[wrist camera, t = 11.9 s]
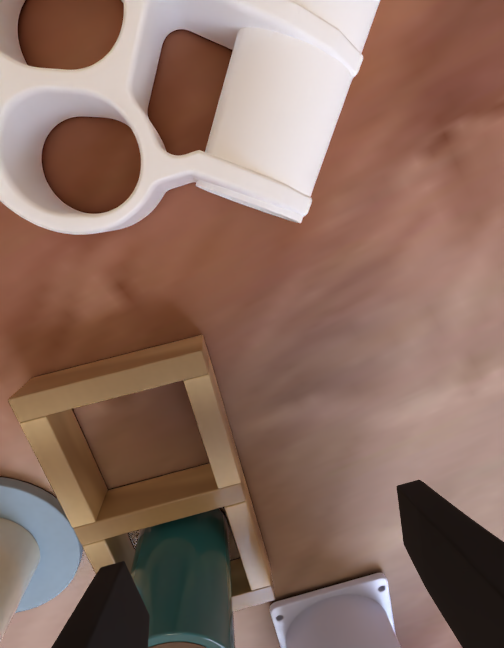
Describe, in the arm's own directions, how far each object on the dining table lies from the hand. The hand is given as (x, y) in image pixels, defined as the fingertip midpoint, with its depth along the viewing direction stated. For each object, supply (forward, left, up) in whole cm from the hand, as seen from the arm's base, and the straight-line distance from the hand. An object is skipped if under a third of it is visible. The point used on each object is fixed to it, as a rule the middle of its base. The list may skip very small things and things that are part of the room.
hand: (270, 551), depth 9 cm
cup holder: (-5, +6, -10) cm, 12 cm away
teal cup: (-9, +6, -10) cm, 14 cm away
